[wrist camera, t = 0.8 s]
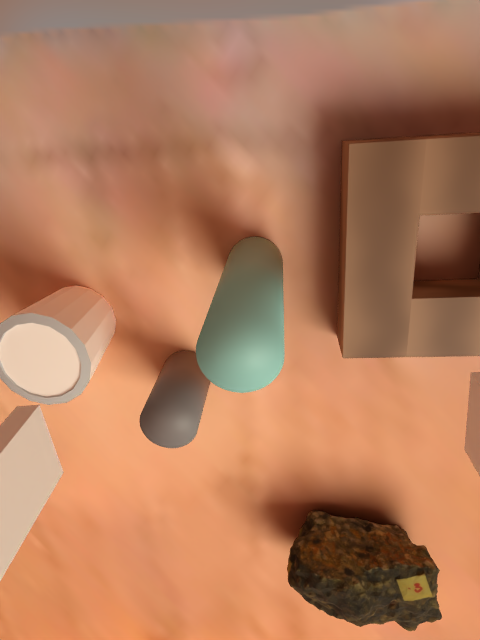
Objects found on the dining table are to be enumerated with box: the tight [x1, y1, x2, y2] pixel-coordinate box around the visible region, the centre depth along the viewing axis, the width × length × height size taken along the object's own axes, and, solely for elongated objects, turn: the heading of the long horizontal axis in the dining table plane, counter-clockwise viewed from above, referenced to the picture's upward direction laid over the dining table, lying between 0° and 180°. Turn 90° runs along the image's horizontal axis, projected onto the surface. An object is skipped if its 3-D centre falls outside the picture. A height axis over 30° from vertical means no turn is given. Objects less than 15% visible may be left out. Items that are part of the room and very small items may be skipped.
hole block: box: [337, 132, 480, 358], centre depth 30 cm, size 14×14×4 cm
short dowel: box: [140, 351, 210, 448], centre depth 34 cm, size 4×4×7 cm
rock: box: [287, 511, 442, 631], centre depth 40 cm, size 12×9×8 cm
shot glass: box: [0, 285, 116, 405], centre depth 33 cm, size 7×7×7 cm
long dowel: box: [196, 237, 284, 393], centre depth 27 cm, size 4×4×14 cm
